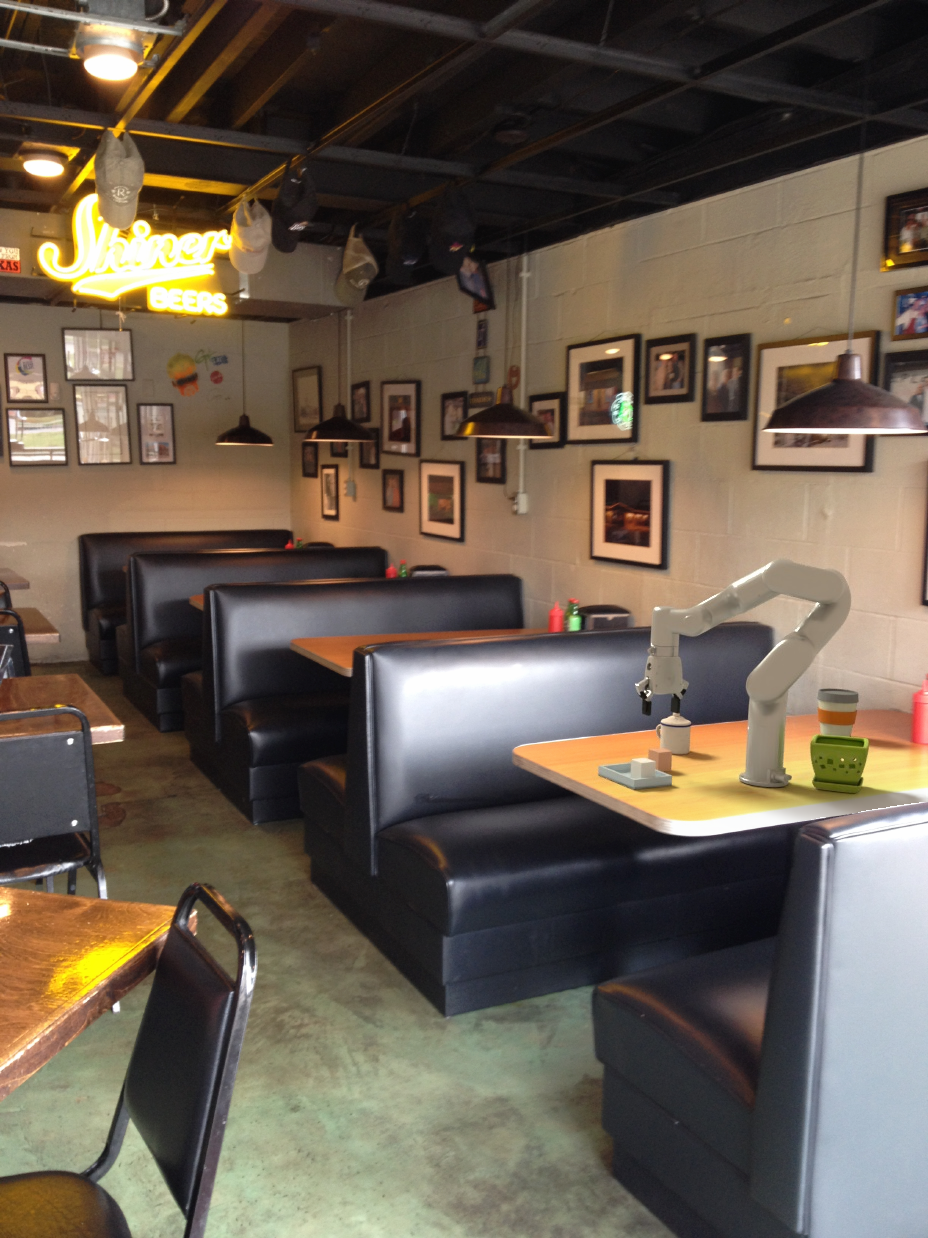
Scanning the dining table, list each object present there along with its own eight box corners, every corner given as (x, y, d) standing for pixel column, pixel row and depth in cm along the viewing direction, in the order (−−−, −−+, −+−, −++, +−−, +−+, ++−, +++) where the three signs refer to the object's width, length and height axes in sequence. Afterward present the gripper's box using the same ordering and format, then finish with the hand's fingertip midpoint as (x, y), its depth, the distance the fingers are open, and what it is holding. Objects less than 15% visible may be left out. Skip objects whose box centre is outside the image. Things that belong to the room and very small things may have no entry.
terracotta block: (671, 771, 279) (672, 751, 278) (657, 772, 277) (658, 752, 276) (661, 767, 283) (661, 748, 282) (647, 768, 281) (648, 749, 280)
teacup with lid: (696, 752, 302) (698, 714, 301) (675, 756, 296) (677, 717, 295) (666, 745, 311) (667, 707, 310) (645, 748, 306) (647, 710, 305)
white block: (654, 782, 263) (655, 761, 263) (640, 784, 261) (641, 763, 261) (644, 778, 267) (645, 757, 267) (630, 780, 265) (631, 759, 265)
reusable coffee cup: (806, 734, 331) (809, 689, 330) (835, 732, 337) (838, 687, 335) (835, 742, 320) (838, 695, 319) (865, 740, 325) (867, 693, 324)
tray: (671, 785, 263) (672, 775, 263) (633, 790, 258) (634, 780, 258) (634, 771, 277) (635, 761, 277) (598, 775, 272) (598, 765, 272)
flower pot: (867, 785, 268) (870, 737, 267) (865, 798, 256) (868, 748, 254) (811, 778, 274) (813, 732, 273) (806, 791, 261) (809, 742, 260)
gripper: (646, 654, 269) (643, 718, 271) (698, 652, 277) (694, 714, 279) (629, 650, 276) (626, 713, 278) (680, 649, 284) (677, 709, 286)
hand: (660, 713), depth 278 cm, fingers open, 9 cm apart
